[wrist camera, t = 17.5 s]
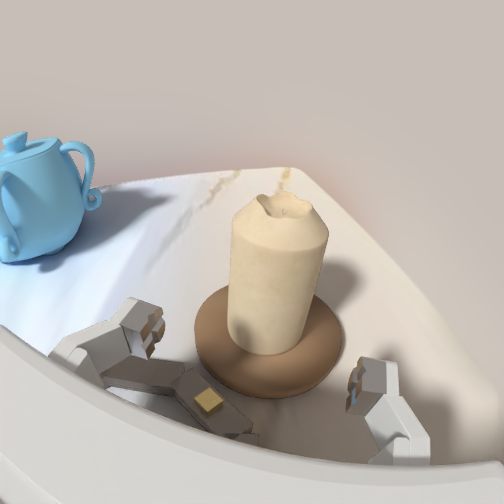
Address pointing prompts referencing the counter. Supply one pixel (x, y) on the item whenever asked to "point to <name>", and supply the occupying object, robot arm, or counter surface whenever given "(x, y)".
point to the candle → (273, 272)
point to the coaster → (267, 367)
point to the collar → (182, 394)
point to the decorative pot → (41, 196)
